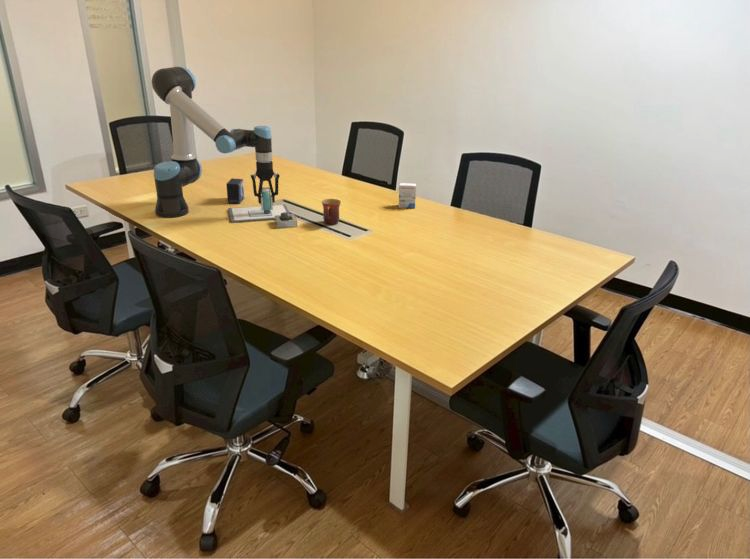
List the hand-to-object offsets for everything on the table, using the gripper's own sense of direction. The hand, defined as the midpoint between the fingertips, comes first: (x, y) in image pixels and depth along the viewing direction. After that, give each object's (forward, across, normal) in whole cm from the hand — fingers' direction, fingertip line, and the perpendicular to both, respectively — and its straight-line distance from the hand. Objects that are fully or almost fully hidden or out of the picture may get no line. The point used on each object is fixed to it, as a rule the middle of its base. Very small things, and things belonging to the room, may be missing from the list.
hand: (267, 209), depth 271 cm
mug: (+3, +27, -19) cm, 33 cm away
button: (+1, +7, -15) cm, 16 cm away
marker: (+2, 0, 0) cm, 2 cm away
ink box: (+3, +71, -2) cm, 71 cm away
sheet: (+3, -3, +2) cm, 5 cm away
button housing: (+3, +7, -15) cm, 17 cm away
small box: (+3, -12, +26) cm, 29 cm away
